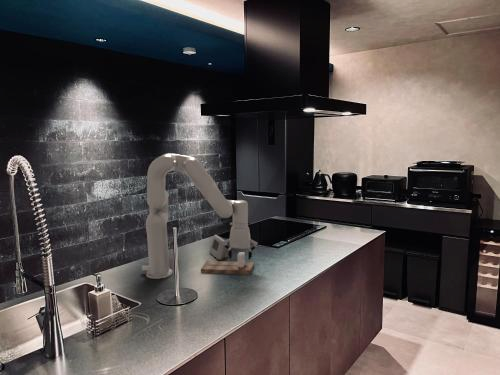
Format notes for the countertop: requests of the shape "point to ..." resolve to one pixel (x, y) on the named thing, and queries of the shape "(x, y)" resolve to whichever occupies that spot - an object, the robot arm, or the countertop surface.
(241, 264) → the fader knob
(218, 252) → the digital clock
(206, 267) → the console board
